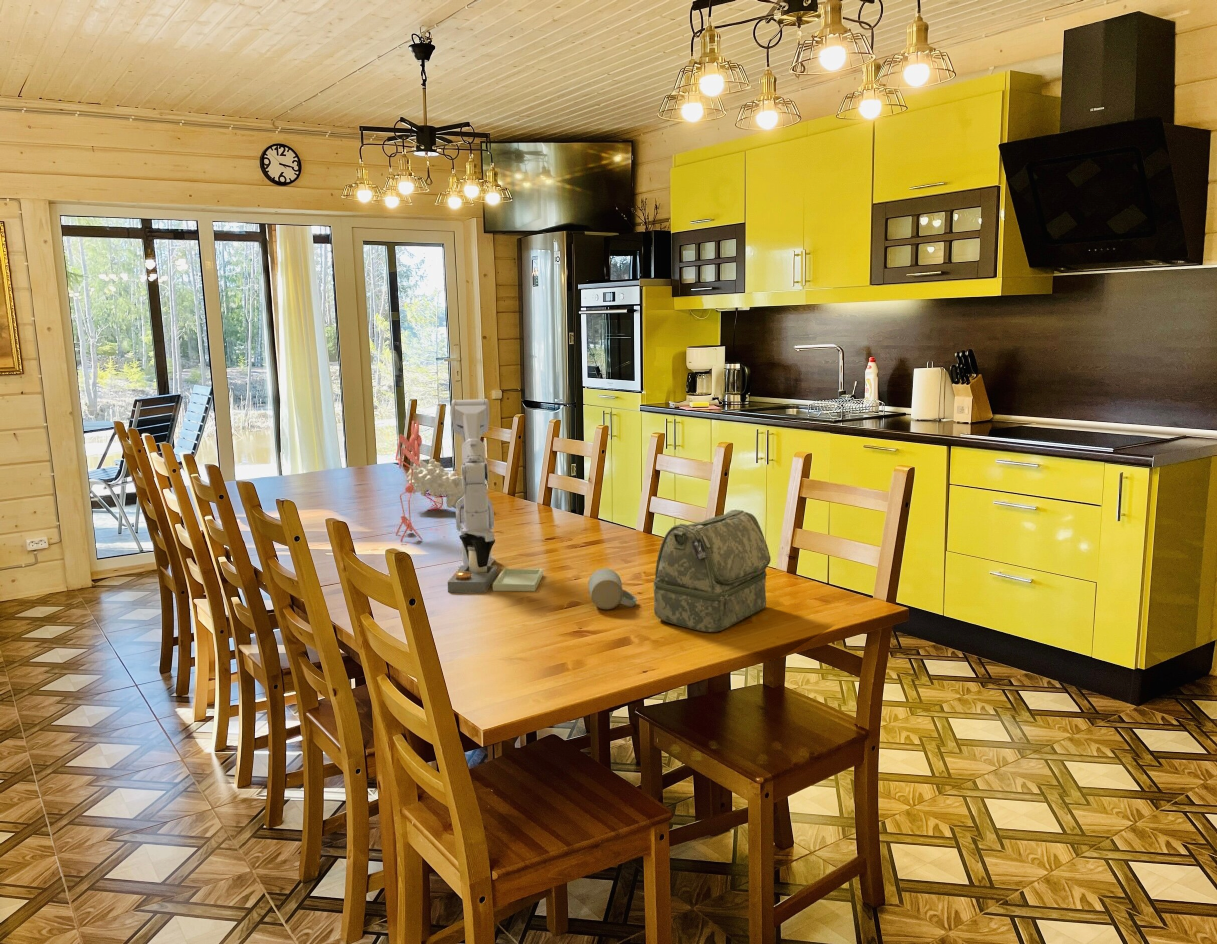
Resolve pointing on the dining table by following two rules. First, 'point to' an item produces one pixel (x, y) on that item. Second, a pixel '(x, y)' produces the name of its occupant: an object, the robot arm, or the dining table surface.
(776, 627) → the dining table surface
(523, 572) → the tray
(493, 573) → the housing
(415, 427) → the figurine
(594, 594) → the ceramic mug
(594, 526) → the dining table surface
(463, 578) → the orange round piece
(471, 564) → the cylinder
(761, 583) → the lunch bag
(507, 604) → the dining table surface
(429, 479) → the lumpy white molecule
